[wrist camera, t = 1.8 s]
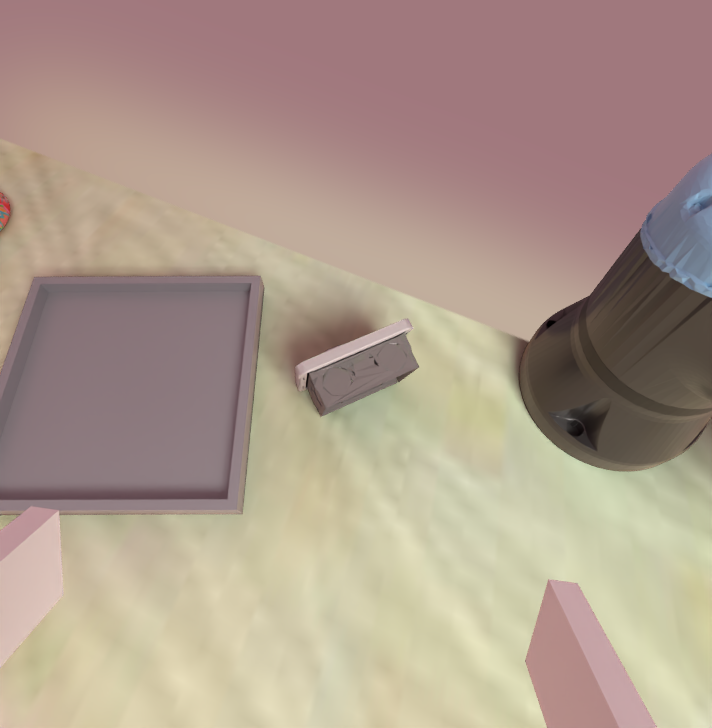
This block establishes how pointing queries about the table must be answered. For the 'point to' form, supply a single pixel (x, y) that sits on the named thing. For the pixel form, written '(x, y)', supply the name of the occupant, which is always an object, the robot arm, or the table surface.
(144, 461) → the grey square tray
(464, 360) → the table surface
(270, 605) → the table surface
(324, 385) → the electrical switch
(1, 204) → the mug
